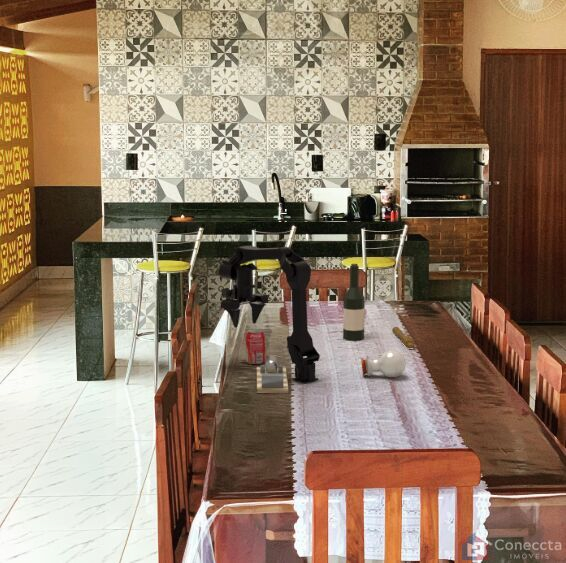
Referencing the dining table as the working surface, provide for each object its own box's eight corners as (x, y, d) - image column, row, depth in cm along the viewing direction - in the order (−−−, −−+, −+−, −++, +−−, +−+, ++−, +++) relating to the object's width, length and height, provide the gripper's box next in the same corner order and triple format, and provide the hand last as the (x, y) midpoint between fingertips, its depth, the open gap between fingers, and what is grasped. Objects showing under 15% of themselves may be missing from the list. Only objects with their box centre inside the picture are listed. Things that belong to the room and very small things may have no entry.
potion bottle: (408, 382, 336) (364, 386, 338) (406, 360, 343) (362, 364, 345) (406, 364, 330) (361, 369, 332) (404, 342, 337) (360, 346, 338)
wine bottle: (364, 341, 390) (365, 265, 385) (343, 341, 390) (344, 265, 385) (363, 336, 398) (364, 262, 393) (342, 336, 398) (343, 262, 393)
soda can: (254, 359, 362) (254, 327, 360) (269, 362, 357) (269, 330, 355) (241, 363, 356) (241, 330, 354) (256, 366, 352) (256, 333, 350)
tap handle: (399, 326, 405) (415, 342, 375) (399, 333, 405) (415, 350, 376) (392, 326, 404) (408, 343, 375) (391, 333, 405) (407, 350, 375)
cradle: (288, 393, 318) (288, 376, 317) (257, 393, 318) (256, 377, 317) (285, 370, 346) (285, 355, 345) (256, 370, 346) (256, 355, 345)
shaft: (277, 374, 335) (277, 362, 334) (265, 374, 335) (265, 362, 334) (276, 365, 346) (276, 354, 345) (265, 365, 345) (265, 354, 345)
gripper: (247, 276, 360) (247, 318, 362) (209, 282, 346) (209, 326, 349) (269, 279, 352) (269, 322, 355) (231, 286, 339) (232, 331, 341)
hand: (244, 325), depth 350 cm, fingers open, 9 cm apart
